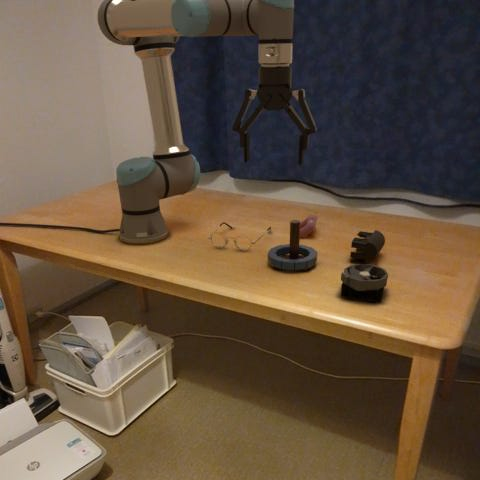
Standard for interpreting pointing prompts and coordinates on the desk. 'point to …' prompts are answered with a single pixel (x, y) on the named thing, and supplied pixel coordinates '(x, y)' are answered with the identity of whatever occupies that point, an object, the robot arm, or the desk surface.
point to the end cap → (367, 247)
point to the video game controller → (308, 225)
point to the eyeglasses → (234, 238)
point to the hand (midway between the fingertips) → (273, 162)
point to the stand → (294, 242)
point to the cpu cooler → (363, 282)
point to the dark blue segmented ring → (290, 263)
